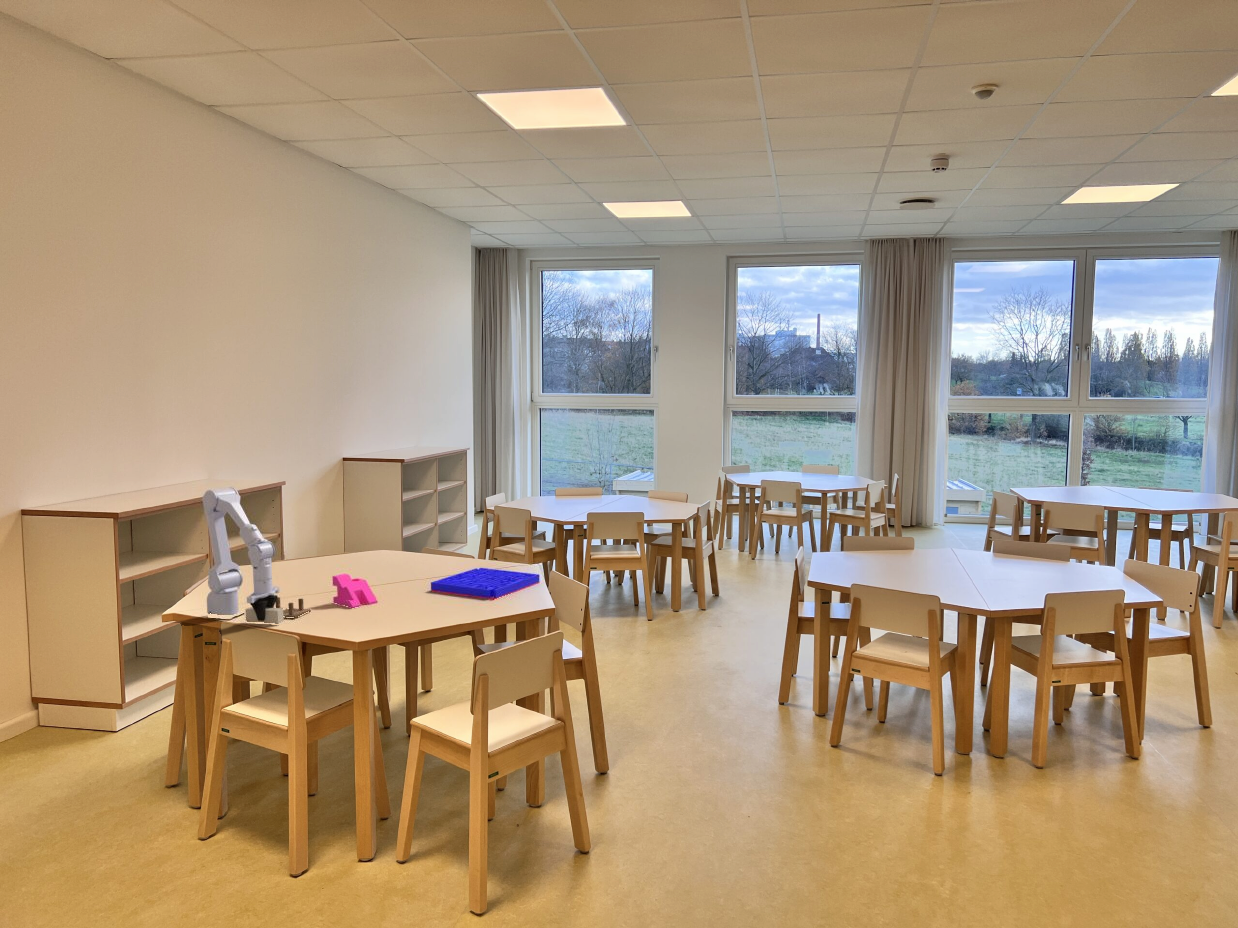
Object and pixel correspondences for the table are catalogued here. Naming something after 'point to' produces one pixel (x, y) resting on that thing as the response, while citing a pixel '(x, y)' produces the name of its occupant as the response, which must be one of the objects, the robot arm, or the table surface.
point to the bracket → (352, 591)
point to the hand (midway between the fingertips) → (264, 619)
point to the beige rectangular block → (266, 615)
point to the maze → (485, 583)
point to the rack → (292, 609)
